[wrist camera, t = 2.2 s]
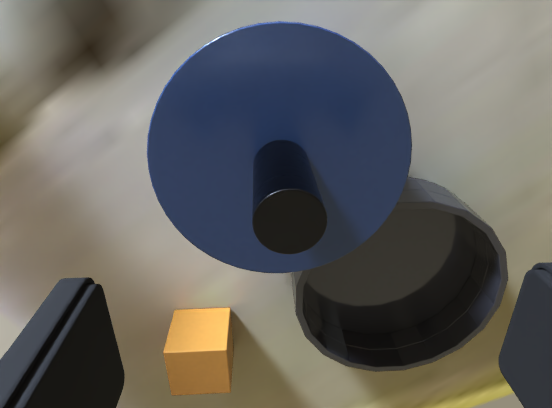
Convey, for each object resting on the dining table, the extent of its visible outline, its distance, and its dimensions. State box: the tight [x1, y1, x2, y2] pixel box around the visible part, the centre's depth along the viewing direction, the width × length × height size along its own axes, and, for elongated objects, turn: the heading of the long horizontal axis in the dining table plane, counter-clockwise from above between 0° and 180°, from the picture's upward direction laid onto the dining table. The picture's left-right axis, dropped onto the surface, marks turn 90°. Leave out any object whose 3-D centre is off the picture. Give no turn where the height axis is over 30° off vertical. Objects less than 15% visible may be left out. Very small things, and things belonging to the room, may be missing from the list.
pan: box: [292, 177, 508, 372], centre depth 29 cm, size 15×15×4 cm
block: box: [163, 308, 234, 395], centre depth 31 cm, size 4×4×4 cm
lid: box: [147, 21, 412, 273], centre depth 15 cm, size 11×11×6 cm
